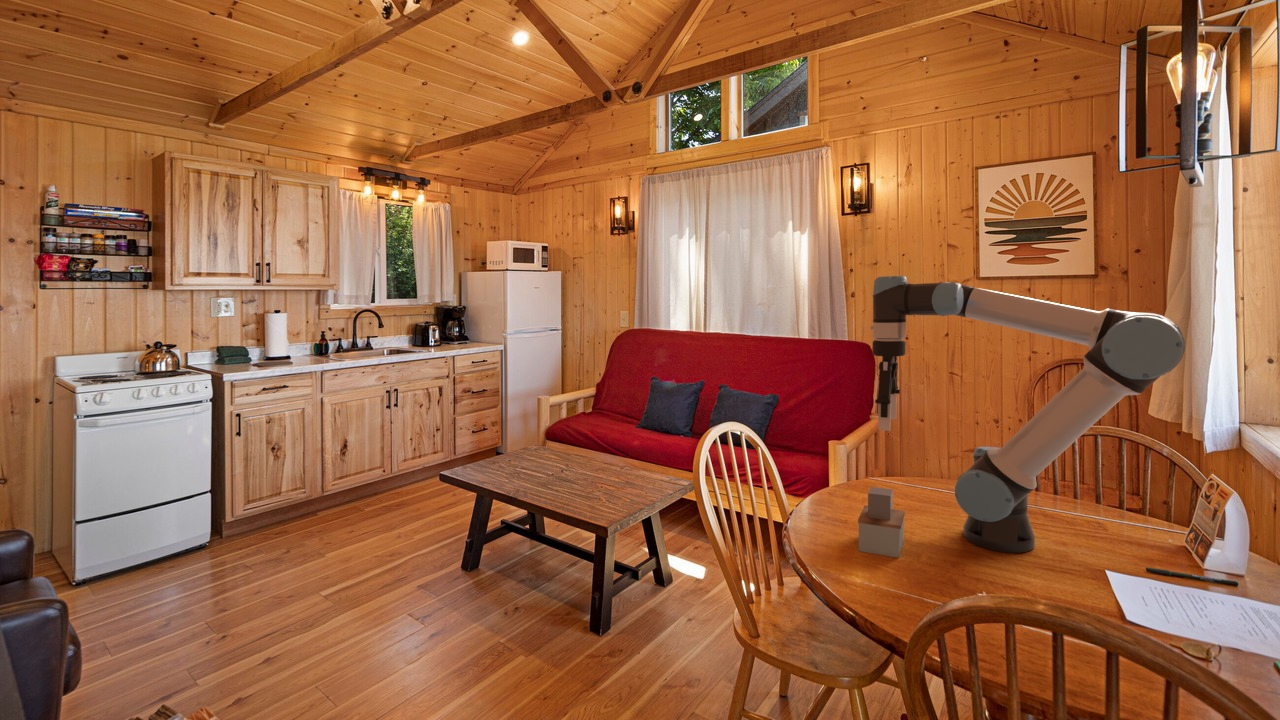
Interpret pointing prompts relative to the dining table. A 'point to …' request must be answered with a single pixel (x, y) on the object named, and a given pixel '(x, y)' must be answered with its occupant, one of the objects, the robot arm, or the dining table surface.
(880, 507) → the slate block
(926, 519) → the dining table surface
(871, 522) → the lid
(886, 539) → the box
